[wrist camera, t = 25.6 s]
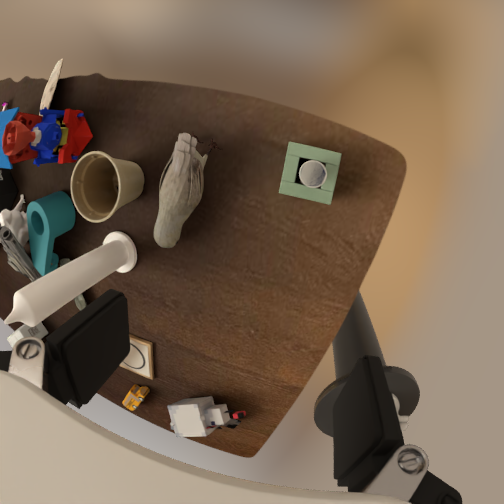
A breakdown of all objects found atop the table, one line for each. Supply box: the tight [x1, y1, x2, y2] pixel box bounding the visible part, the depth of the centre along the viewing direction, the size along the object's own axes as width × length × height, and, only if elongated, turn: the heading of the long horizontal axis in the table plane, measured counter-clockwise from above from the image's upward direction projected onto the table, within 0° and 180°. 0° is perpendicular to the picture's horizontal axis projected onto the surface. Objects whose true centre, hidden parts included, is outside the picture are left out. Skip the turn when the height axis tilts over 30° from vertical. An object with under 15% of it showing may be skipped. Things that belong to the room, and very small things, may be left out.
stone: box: [60, 258, 87, 311], centre depth 47 cm, size 12×2×5 cm
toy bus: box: [123, 384, 150, 411], centre depth 53 cm, size 3×10×4 cm
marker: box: [299, 160, 327, 188], centre depth 28 cm, size 2×2×13 cm
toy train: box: [0, 107, 93, 169], centre depth 31 cm, size 10×16×15 cm, turn 79°
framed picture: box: [119, 334, 154, 380], centre depth 49 cm, size 10×10×1 cm
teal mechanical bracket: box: [27, 191, 75, 276], centre depth 41 cm, size 7×15×8 cm
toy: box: [168, 396, 246, 437], centre depth 46 cm, size 12×17×15 cm
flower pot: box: [71, 151, 144, 223], centre depth 35 cm, size 9×9×9 cm
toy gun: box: [0, 225, 43, 282], centre depth 41 cm, size 4×21×15 cm
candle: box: [4, 231, 137, 327], centre depth 31 cm, size 7×7×25 cm
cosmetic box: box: [7, 322, 48, 347], centre depth 53 cm, size 8×6×15 cm
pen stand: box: [279, 142, 342, 205], centre depth 32 cm, size 6×6×5 cm
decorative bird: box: [154, 133, 222, 248], centre depth 34 cm, size 5×16×8 cm, turn 158°
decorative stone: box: [39, 59, 63, 116], centre depth 34 cm, size 8×14×2 cm, turn 174°
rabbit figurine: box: [0, 195, 29, 247], centre depth 41 cm, size 12×8×10 cm, turn 160°
